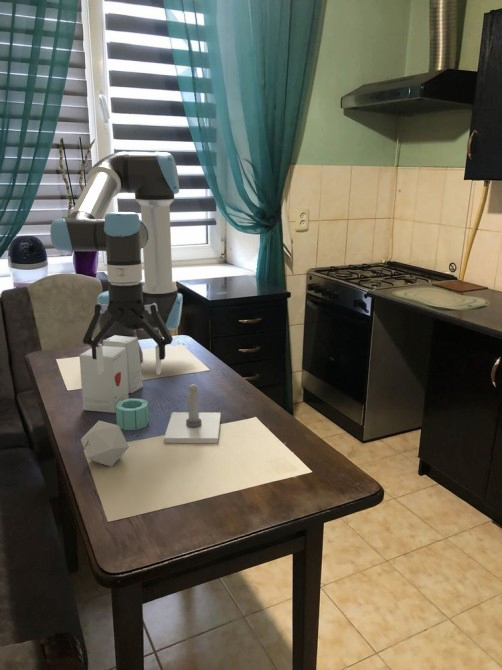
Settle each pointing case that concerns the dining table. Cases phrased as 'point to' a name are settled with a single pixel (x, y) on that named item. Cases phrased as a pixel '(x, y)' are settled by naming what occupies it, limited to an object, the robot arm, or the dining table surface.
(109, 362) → the supplement box
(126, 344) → the skincare box
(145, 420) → the teal ring
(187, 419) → the post stand
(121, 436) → the die
